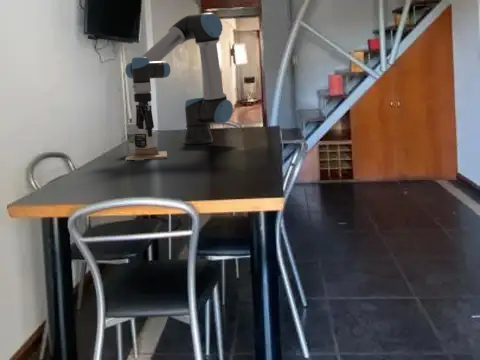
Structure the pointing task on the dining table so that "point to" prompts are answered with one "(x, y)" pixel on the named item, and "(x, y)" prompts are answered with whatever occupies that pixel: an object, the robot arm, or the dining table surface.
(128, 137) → the syrup box
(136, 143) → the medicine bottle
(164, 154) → the base board
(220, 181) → the dining table surface
